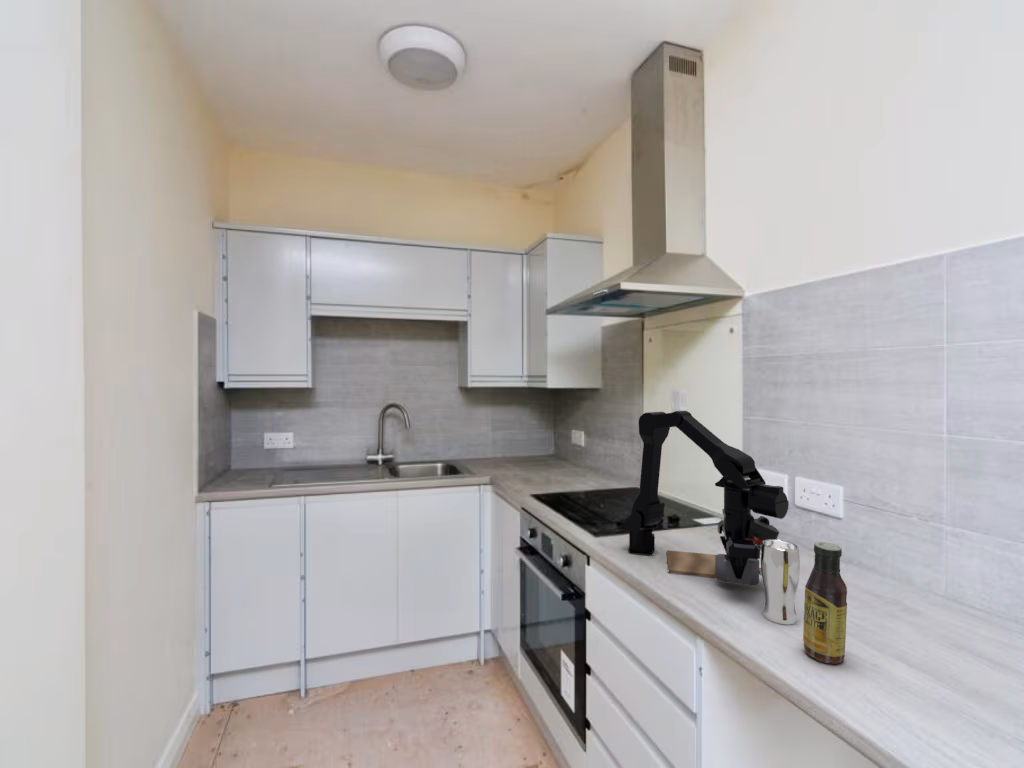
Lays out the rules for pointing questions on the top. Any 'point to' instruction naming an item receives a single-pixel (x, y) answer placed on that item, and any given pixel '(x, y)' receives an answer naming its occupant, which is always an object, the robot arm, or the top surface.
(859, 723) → the top surface
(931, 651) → the top surface
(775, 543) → the beer glass
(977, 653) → the top surface
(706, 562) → the board
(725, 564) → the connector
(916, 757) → the top surface
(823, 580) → the sauce bottle
